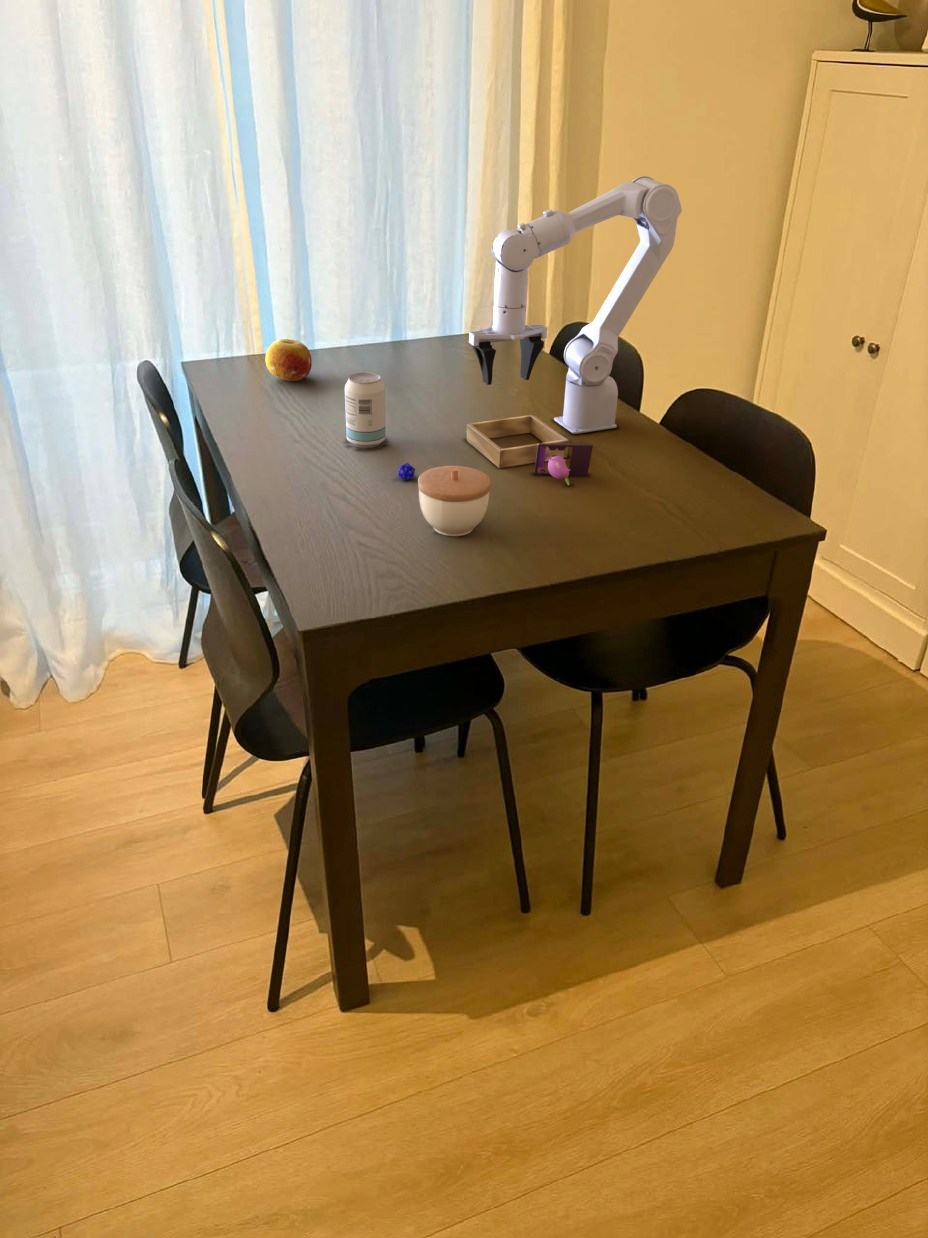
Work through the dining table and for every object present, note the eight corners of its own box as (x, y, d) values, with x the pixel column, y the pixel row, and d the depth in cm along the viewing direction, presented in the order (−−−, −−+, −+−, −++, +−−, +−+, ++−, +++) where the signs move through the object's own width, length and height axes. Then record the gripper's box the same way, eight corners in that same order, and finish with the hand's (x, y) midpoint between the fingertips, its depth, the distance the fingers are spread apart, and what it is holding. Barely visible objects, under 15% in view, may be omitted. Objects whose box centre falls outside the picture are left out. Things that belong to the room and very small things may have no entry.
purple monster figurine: (592, 440, 161) (537, 439, 161) (595, 462, 158) (539, 461, 158) (586, 470, 166) (534, 470, 166) (589, 492, 163) (535, 491, 163)
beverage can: (392, 439, 177) (391, 374, 170) (373, 453, 171) (372, 386, 165) (359, 433, 179) (357, 368, 173) (339, 445, 174) (336, 379, 167)
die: (394, 480, 162) (396, 462, 163) (408, 483, 164) (410, 465, 164) (402, 477, 160) (404, 459, 160) (416, 481, 161) (418, 463, 162)
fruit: (322, 378, 204) (320, 340, 200) (293, 389, 198) (290, 350, 193) (287, 369, 208) (284, 331, 204) (257, 380, 202) (254, 341, 198)
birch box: (531, 430, 182) (532, 414, 181) (567, 457, 172) (568, 440, 170) (466, 440, 177) (466, 423, 176) (499, 468, 167) (500, 450, 166)
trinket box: (497, 518, 151) (500, 461, 146) (475, 548, 142) (477, 489, 137) (432, 506, 154) (433, 450, 149) (407, 536, 145) (406, 477, 140)
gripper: (482, 313, 164) (479, 392, 172) (557, 306, 170) (551, 382, 177) (464, 303, 170) (462, 379, 177) (538, 296, 175) (533, 371, 182)
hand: (506, 380), depth 177 cm, fingers open, 7 cm apart
